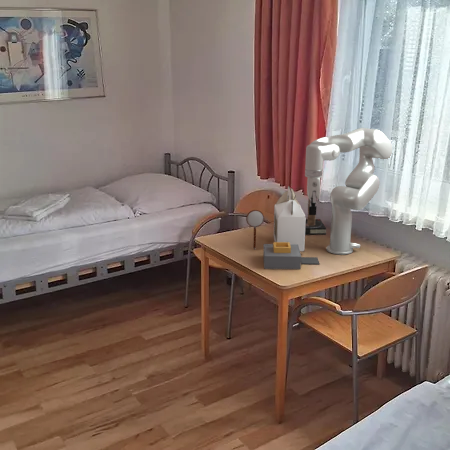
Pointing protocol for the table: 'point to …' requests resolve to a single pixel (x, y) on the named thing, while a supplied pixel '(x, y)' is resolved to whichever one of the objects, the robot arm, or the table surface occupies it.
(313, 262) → the pad
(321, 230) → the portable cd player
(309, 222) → the brown cylinder
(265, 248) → the box
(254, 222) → the magnifying glass
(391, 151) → the robot arm
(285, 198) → the gable box
